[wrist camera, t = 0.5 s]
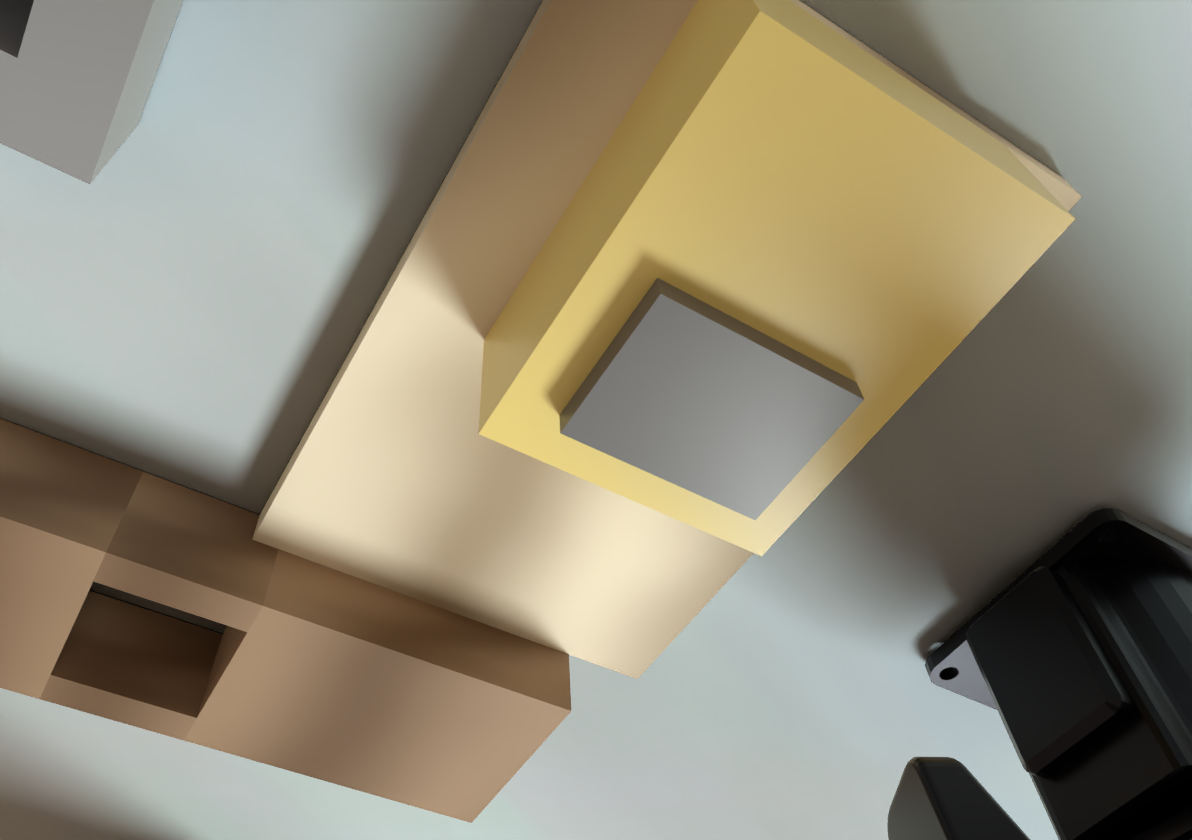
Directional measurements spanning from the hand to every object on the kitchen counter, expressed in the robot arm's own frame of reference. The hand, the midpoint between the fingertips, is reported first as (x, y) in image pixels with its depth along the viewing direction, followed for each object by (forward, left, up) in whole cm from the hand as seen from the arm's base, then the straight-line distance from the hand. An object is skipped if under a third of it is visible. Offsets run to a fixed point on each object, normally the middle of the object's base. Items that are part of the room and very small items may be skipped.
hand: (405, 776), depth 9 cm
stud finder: (-5, -2, -12) cm, 13 cm away
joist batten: (0, +12, -12) cm, 17 cm away
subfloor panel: (-5, +2, -12) cm, 13 cm away
